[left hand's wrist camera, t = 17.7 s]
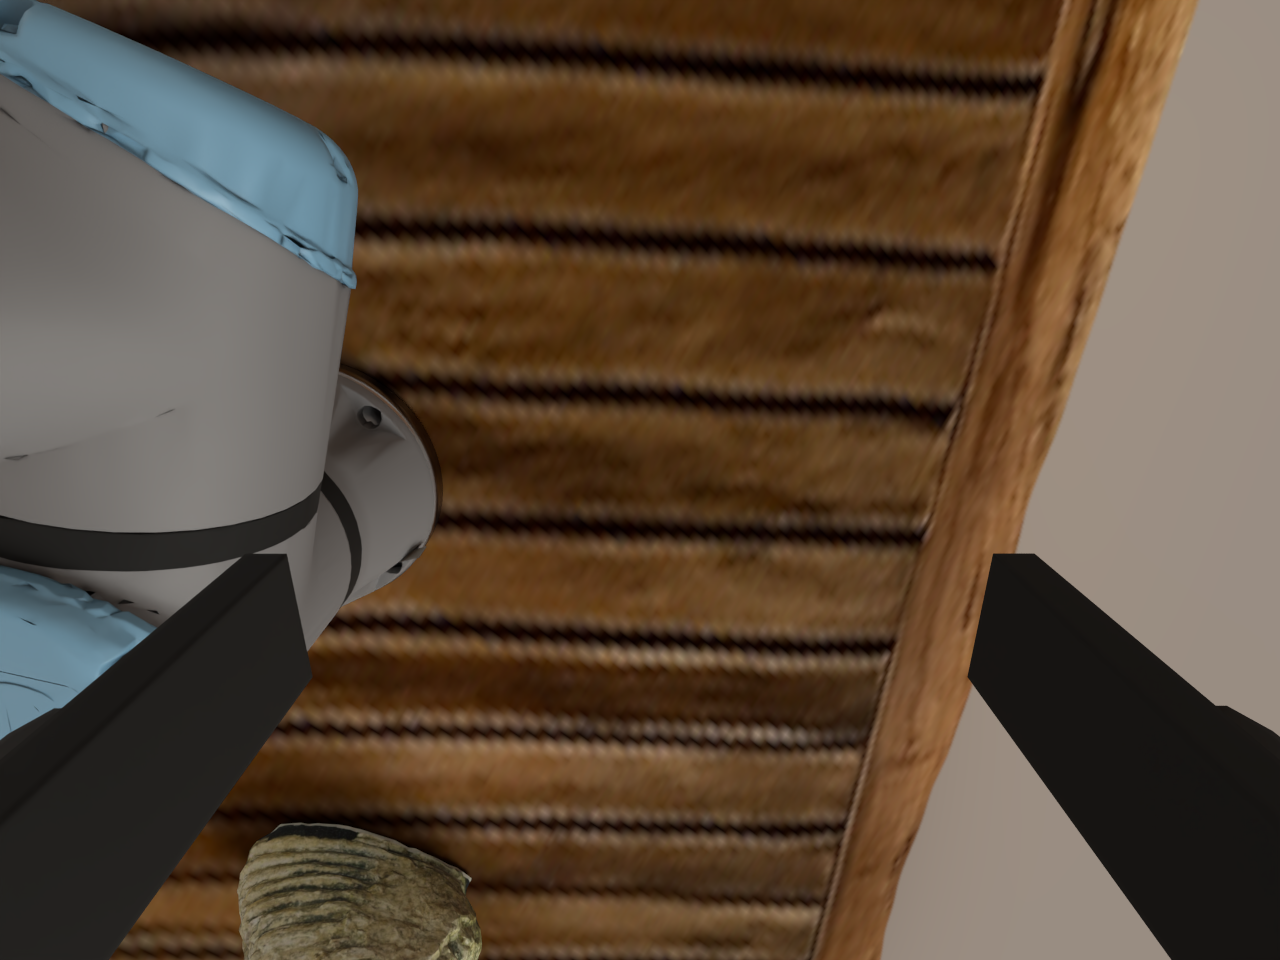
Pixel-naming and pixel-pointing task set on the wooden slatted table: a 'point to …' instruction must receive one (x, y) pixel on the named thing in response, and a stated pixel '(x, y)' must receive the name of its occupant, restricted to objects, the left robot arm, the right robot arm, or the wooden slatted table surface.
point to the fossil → (351, 899)
